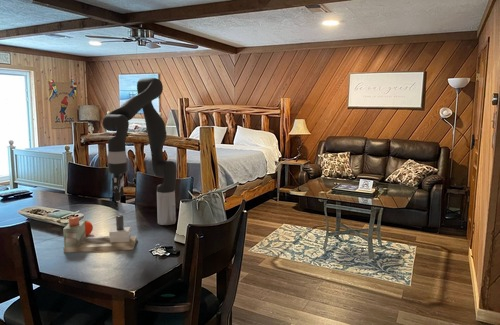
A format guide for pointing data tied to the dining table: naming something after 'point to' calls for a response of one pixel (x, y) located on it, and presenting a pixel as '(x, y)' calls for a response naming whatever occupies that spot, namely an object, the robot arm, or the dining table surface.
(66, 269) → the dining table surface
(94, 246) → the rail base
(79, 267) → the dining table surface
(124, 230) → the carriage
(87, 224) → the clementine
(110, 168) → the robot arm
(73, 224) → the button
